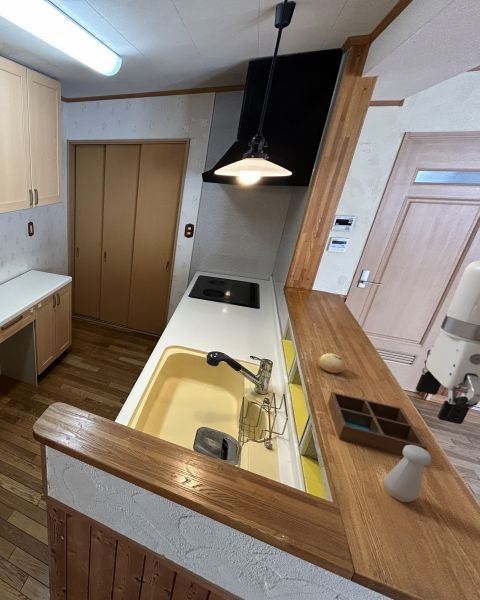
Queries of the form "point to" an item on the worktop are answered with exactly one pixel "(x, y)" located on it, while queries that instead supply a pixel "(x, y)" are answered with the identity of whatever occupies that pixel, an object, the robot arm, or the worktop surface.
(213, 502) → the worktop surface
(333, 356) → the tan oval lump
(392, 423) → the grid
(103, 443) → the worktop surface
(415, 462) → the salt shaker
